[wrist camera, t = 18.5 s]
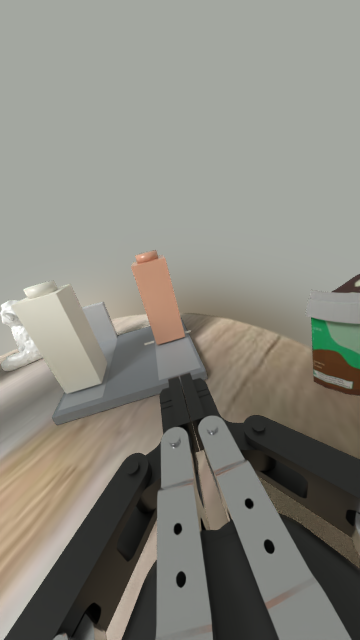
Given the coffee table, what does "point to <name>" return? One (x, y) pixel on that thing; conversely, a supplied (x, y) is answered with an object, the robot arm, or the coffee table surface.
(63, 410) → the grey holder stand
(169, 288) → the terracotta plug
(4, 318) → the sitting furry creature
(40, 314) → the cream plug
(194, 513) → the robot arm
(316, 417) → the coffee table surface
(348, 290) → the food container
